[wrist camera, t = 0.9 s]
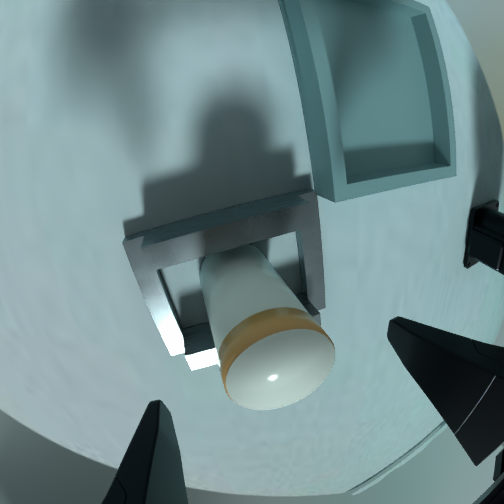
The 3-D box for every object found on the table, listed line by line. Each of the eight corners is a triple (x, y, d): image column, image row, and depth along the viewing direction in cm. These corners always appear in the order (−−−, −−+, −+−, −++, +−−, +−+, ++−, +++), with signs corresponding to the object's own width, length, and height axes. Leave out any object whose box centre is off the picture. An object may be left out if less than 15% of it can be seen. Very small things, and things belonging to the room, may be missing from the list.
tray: (409, 12, 12) (429, 7, 10) (435, 170, 17) (456, 176, 15) (274, -13, 10) (289, -30, 8) (315, 194, 15) (335, 202, 14)
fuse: (262, 232, 16) (336, 311, 8) (273, 293, 17) (334, 387, 10) (190, 252, 15) (209, 354, 8) (209, 312, 17) (239, 421, 9)
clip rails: (309, 188, 15) (332, 197, 13) (320, 301, 19) (337, 321, 16) (124, 237, 14) (116, 255, 11) (170, 347, 17) (172, 374, 15)
